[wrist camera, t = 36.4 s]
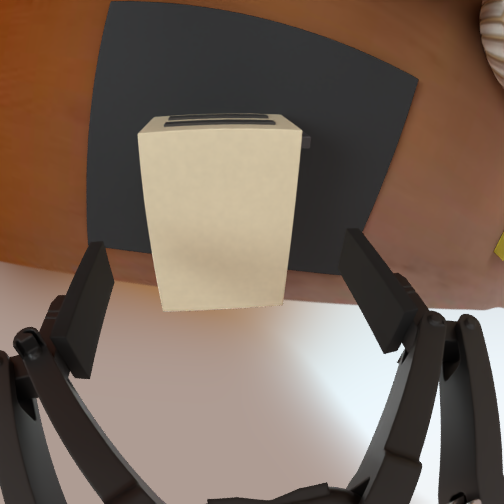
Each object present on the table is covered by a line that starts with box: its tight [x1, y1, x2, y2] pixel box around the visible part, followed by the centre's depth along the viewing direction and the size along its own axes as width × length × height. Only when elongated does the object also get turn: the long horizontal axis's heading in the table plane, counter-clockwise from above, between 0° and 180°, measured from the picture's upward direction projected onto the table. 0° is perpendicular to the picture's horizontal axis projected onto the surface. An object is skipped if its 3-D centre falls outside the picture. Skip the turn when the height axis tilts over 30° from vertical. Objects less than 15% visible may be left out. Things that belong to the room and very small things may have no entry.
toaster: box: [138, 114, 311, 312], centre depth 21 cm, size 10×6×13 cm
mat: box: [87, 1, 418, 275], centre depth 22 cm, size 24×20×1 cm
